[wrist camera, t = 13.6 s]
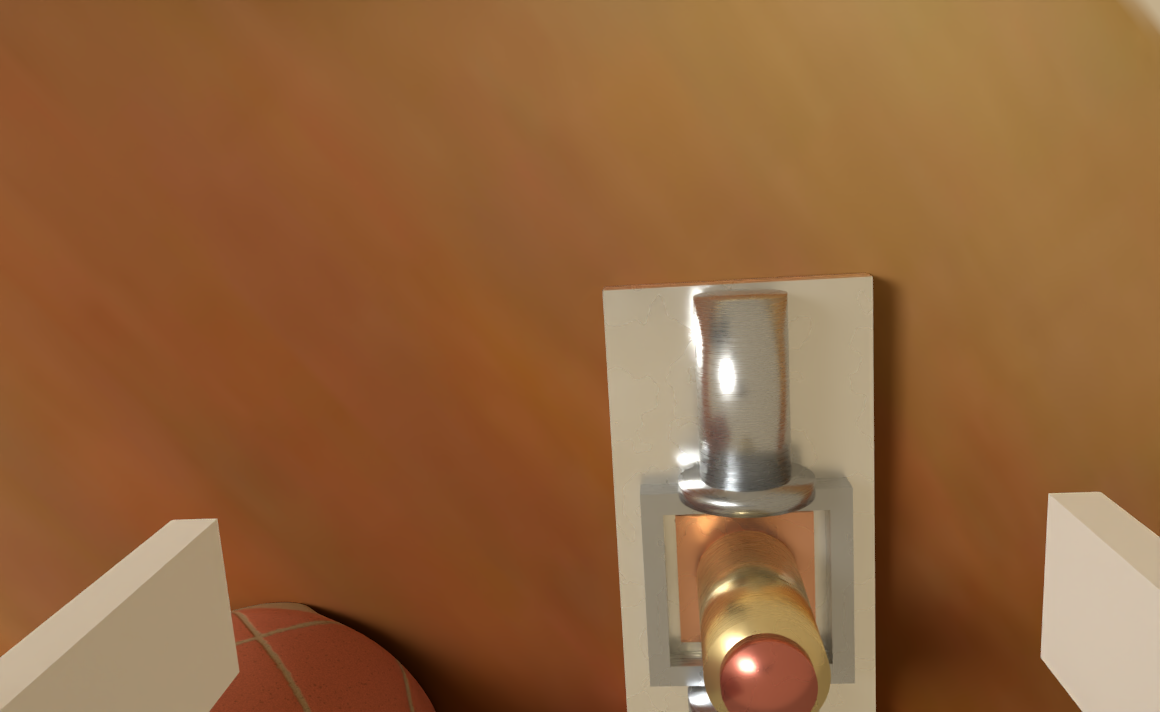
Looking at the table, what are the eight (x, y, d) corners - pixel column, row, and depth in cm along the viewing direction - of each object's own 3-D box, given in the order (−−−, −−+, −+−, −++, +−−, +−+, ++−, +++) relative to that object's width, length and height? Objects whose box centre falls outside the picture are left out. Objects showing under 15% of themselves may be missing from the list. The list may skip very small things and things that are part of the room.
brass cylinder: (694, 531, 46) (702, 629, 36) (798, 529, 45) (833, 627, 36) (698, 626, 46) (706, 746, 37) (800, 624, 46) (835, 745, 36)
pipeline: (604, 286, 45) (595, 305, 39) (865, 272, 44) (900, 290, 38) (635, 819, 51) (631, 912, 44) (870, 818, 50) (901, 914, 43)
